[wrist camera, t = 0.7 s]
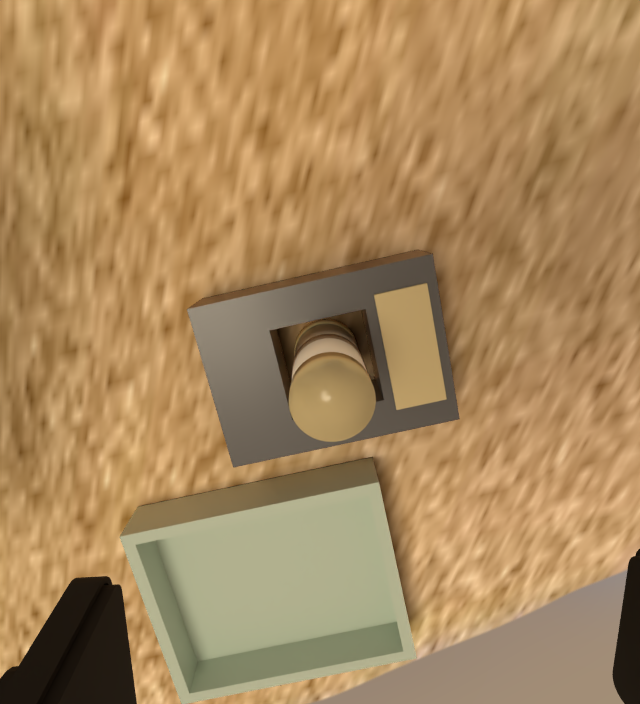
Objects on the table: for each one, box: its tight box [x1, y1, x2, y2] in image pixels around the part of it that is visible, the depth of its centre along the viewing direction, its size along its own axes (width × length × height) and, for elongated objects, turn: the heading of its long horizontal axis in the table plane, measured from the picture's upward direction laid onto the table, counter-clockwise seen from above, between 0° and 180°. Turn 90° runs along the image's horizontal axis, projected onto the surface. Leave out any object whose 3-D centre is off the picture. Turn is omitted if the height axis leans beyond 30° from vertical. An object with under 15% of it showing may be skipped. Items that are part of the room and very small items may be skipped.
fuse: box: [289, 319, 376, 442], centre depth 28 cm, size 4×4×10 cm
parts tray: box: [120, 457, 417, 704], centre depth 36 cm, size 17×14×4 cm
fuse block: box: [187, 250, 459, 467], centre depth 31 cm, size 14×10×4 cm
